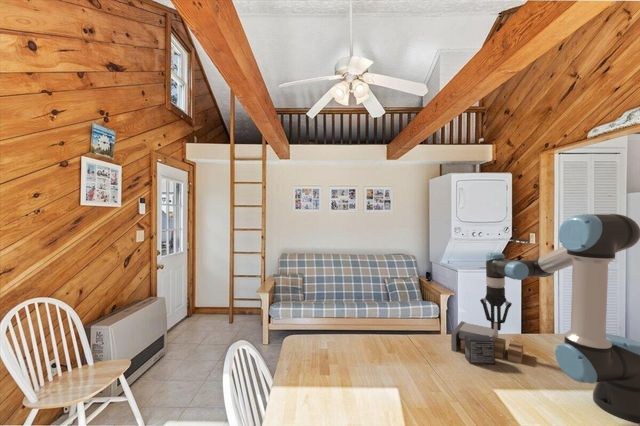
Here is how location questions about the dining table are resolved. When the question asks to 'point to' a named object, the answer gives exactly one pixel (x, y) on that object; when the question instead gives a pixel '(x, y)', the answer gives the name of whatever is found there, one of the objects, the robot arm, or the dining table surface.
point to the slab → (475, 331)
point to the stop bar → (456, 337)
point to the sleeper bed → (509, 350)
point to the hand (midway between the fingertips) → (496, 336)
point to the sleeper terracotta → (462, 343)
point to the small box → (479, 349)
